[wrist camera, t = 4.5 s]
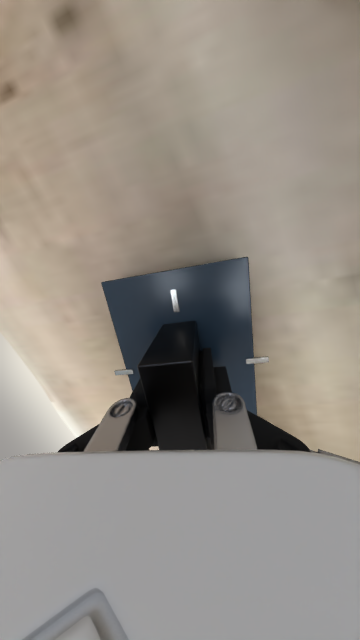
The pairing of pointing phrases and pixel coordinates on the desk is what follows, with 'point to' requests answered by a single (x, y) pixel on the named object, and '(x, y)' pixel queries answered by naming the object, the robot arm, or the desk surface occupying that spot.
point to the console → (190, 317)
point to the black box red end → (175, 387)
